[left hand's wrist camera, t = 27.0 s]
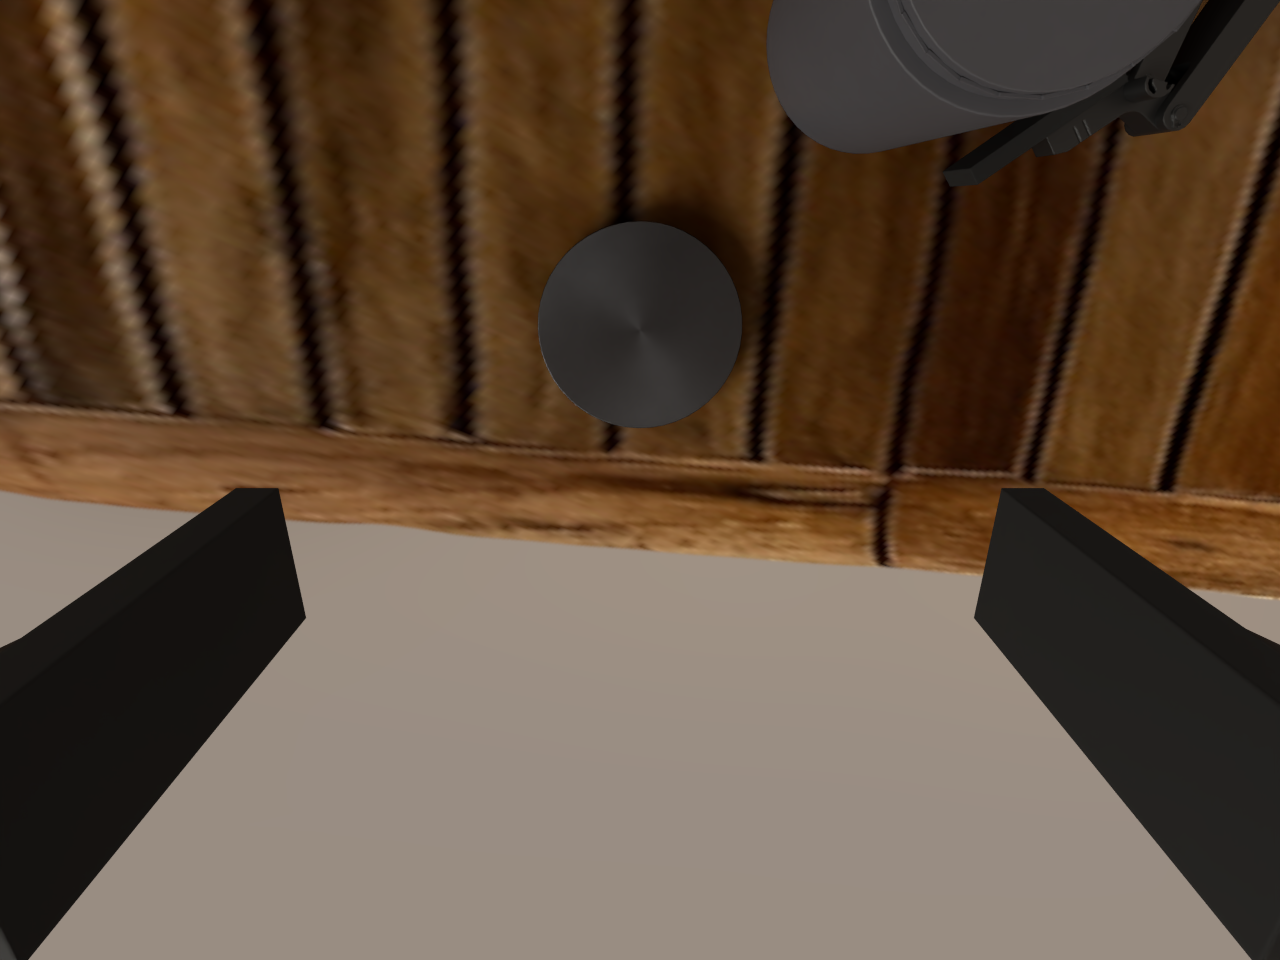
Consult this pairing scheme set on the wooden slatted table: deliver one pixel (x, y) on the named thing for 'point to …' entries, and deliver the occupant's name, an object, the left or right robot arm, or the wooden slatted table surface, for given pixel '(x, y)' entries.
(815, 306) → the wooden slatted table surface
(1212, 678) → the left robot arm
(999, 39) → the jar
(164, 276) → the wooden slatted table surface
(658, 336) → the lid
